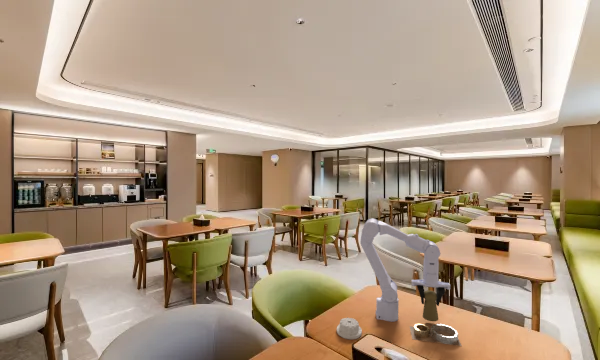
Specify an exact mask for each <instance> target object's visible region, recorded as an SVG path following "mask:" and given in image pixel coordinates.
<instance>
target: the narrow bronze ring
mask: <svg viewBox="0 0 600 360" xmlns="http://www.w3.org/2000/svg"><path fill="white" fill-rule="evenodd" d="M413 327H414V334H415V335H416V336H418V337H420V338H429V336H430V329H431V328H430V327H429V326H427V324H422V323H415V324H414V325H413Z"/></svg>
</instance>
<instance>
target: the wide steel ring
mask: <svg viewBox="0 0 600 360" xmlns="http://www.w3.org/2000/svg"><path fill="white" fill-rule="evenodd" d="M430 329H431V336H432V338H434V339H435V340H436V341H438V342H441V343H440V344H442V343H443V344H444V345H451V344H456V343H457V341H458V339H459V333H458V331H457V330H456V329H455V328H453V327H452V326H450V325H447V324H442V323H435V324H432V325H431V326H430ZM437 331H443V332H447V333H449V334H451V335H452V336H450V337H449V336H443V335H440V334H438V333H436V332H437ZM451 346H452V345H451Z"/></svg>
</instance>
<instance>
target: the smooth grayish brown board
mask: <svg viewBox="0 0 600 360" xmlns="http://www.w3.org/2000/svg"><path fill="white" fill-rule="evenodd" d="M408 327H409V331H410V335H411V339H412V340H415V341H420V342H428V343H429V342H430V343H436V344H441V345H442V344H443V343H441V342H438V341H436V340H435V339H434V338H432V336H431V328H429V329H430V336H429V338H420V337H418V336H416V335H415V334H414V326H410V325H409V326H408ZM436 333H438V334H440V335H443V336H449V337H450V336H452V335H451V334H449V333H447V332H443V331H437V332H436ZM451 346H456V347H457V346H459V347H462V343H461V341H460V339H459V338H458V341H457V343H456V344H451Z"/></svg>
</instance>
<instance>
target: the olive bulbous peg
mask: <svg viewBox="0 0 600 360" xmlns="http://www.w3.org/2000/svg"><path fill="white" fill-rule="evenodd" d="M436 299H437V294H436V292H435V291H434V290H428V289H427V290H424V304H423V311H422V319H424V320H425V321H428V322H437V321H439V314H438V306H437V304H436Z"/></svg>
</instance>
